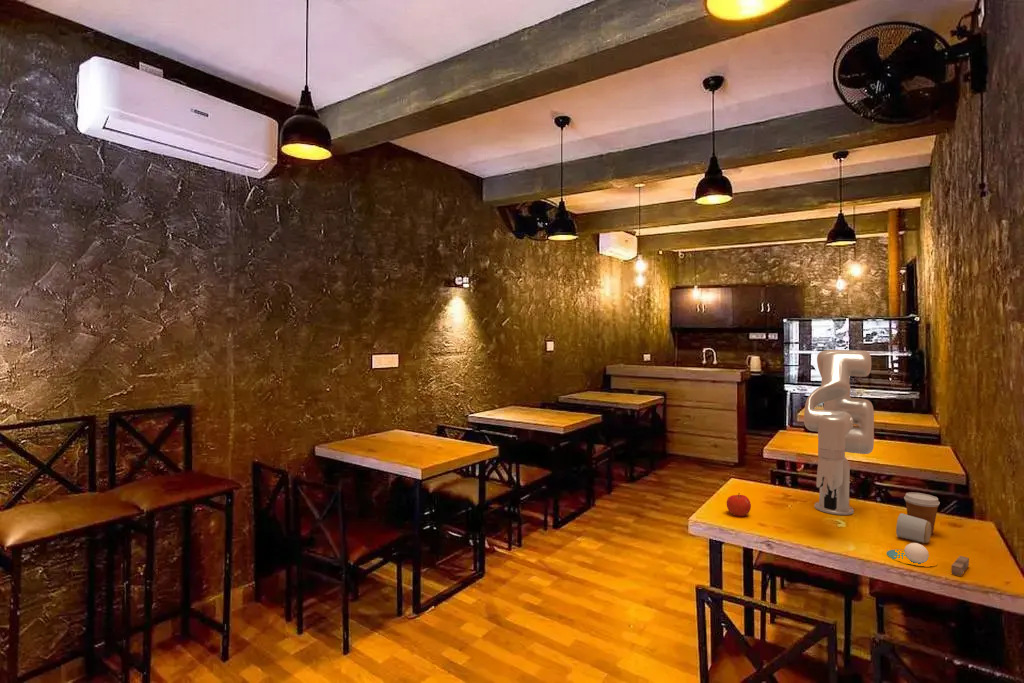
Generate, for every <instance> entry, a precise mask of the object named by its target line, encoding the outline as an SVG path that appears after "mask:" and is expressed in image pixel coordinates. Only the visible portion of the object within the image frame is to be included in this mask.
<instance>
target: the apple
mask: <svg viewBox="0 0 1024 683" xmlns="http://www.w3.org/2000/svg"><path fill="white" fill-rule="evenodd" d="M726 507H727V510H728V511H729V513H730V514H732V515H734V516H737V517H744V516H746V515H748V514H749V513H750V511H751V508H752V505H751V500H750V499H749V498H748V497H747V496H746V495H745V494H744V495H743V494H740V492H738V494H733V495H732V494H731V495H730V496H729V497H728V498H727V499H726Z"/></svg>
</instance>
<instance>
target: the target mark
mask: <svg viewBox="0 0 1024 683" xmlns="http://www.w3.org/2000/svg"><path fill="white" fill-rule="evenodd" d="M895 550H897V551H898V550H899V549H890V550H887V551H886V556H887V555H888V556H889V558H890V557H891V558H892V560H893V559H896V558H897V556H899V557H898V558H900V554H899V555H897V554H898V553H897V552H895ZM902 552H903V551H902ZM899 553H900V552H899ZM901 554H902V555H901V556H902V559H903V554H904V553H901ZM888 556H887V557H888ZM894 556H896V557H894ZM904 556H906V555H904ZM891 558H890V559H891Z"/></svg>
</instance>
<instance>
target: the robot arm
mask: <svg viewBox="0 0 1024 683" xmlns="http://www.w3.org/2000/svg"><path fill="white" fill-rule="evenodd" d="M816 362H817V368H818V372H819V375H820V377H821V384H820V386H818V387H817V388H816V389H814V390H813V391H812V392H811V393H810V394H809V395H808V396H807V399H806V401H805V404H804V412H803V424H804V426H805V428H806V429H807V430H808V431H811V432H817V440H818V441H817V442H818V443H817V457H818V463H817V469H816V470H817V471H816V484H815V485H816V488H817V489H819V496H818V497H819V501H817V502H815V503H814V508H815V509H816V510H817V511H821V512H823V513H827V514H832V515H836V516H837V515H839V516H850V515H853V514H854V512H855V510H854V508H853V507H852V506H850V474H851V473H850V470H851V467H850V466H851V465H850V462H849V460H848V459H847V458H846V453H850V454H851V453H852V454H858V455H869V454H871V453H872V452H873V450H874V446H875V445H874V444H875V442H874V441H875V415H874V414H875V411H874V410H875V409H874V405H873V403H872V401H870V400H869V399H865V398H859V397H851V385H850V384H851V383H850V382H851V381H850V379H851V378H850V377H861V378H862V377H868V376H869V375H870V373H871V370H872V356H871V354H870V352H868V351H867V350H860V349H859V350H858V349H855V350H854V349H852V350H851V349H826V350H822V351H821V350H820V351H819V352H818V353H817V357H816ZM821 404H823V409H819V408H818V409H817V408H816V407H817V406H818V405H821ZM854 425H857V426H854Z"/></svg>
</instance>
